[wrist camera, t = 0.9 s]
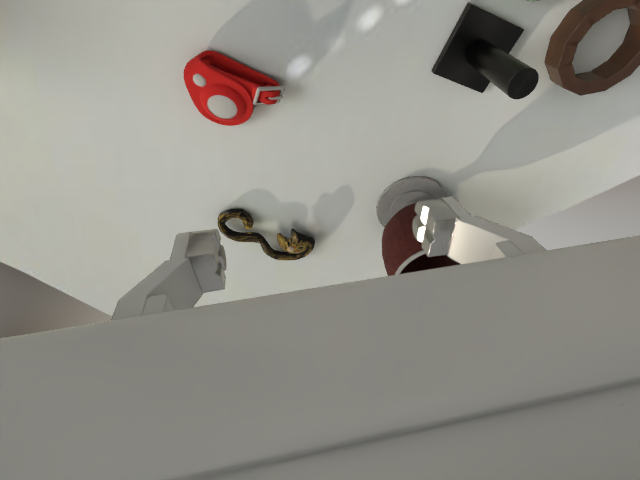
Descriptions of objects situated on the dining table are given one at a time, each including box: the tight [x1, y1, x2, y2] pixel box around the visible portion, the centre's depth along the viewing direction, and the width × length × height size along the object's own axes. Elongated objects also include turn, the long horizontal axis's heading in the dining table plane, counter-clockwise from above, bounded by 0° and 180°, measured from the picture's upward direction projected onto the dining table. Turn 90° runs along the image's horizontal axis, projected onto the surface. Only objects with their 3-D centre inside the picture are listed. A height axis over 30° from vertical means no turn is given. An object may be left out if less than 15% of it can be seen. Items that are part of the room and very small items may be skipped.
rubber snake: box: [218, 209, 315, 260], centre depth 61 cm, size 18×5×10 cm
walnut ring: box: [545, 0, 640, 95], centre depth 42 cm, size 11×11×3 cm
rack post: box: [432, 3, 538, 99], centre depth 38 cm, size 8×8×13 cm
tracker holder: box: [184, 50, 285, 125], centre depth 43 cm, size 12×4×10 cm
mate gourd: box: [376, 176, 460, 276], centre depth 52 cm, size 16×14×20 cm
